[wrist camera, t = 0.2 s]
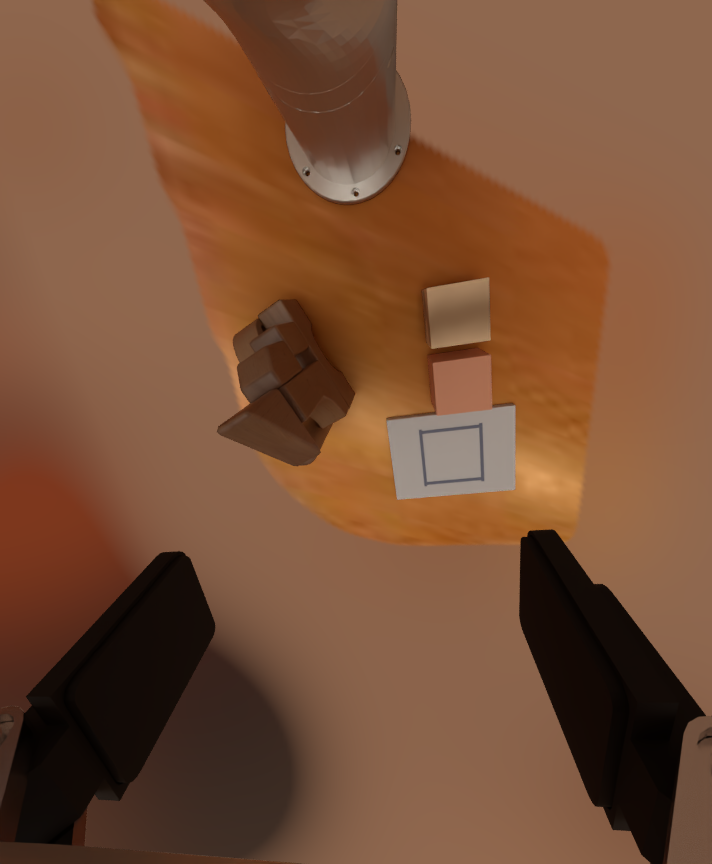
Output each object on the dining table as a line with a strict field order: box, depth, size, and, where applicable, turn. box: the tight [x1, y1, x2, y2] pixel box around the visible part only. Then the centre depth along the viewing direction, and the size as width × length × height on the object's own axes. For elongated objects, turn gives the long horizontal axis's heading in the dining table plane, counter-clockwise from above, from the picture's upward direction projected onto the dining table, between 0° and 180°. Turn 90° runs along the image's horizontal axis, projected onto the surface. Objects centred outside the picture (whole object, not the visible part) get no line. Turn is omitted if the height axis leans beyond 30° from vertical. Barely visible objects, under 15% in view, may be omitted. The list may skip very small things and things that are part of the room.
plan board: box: [387, 403, 515, 500], centre depth 46 cm, size 12×16×1 cm
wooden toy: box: [217, 300, 355, 466], centre depth 32 cm, size 16×7×25 cm, turn 32°
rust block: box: [427, 348, 492, 416], centre depth 40 cm, size 6×6×6 cm
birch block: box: [422, 277, 491, 349], centre depth 37 cm, size 6×6×6 cm
